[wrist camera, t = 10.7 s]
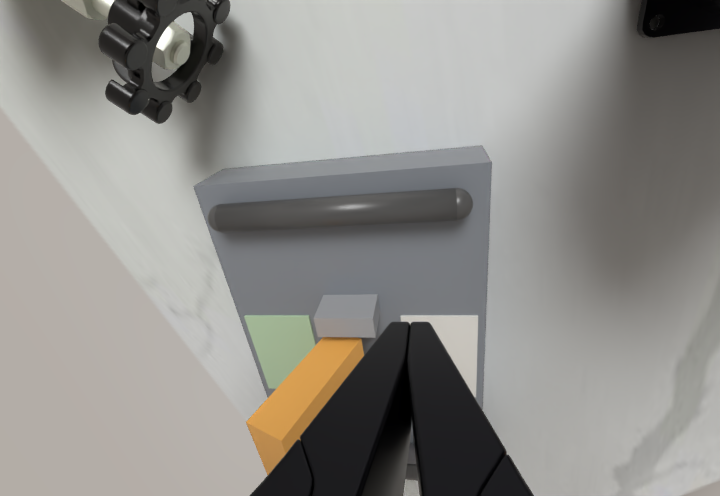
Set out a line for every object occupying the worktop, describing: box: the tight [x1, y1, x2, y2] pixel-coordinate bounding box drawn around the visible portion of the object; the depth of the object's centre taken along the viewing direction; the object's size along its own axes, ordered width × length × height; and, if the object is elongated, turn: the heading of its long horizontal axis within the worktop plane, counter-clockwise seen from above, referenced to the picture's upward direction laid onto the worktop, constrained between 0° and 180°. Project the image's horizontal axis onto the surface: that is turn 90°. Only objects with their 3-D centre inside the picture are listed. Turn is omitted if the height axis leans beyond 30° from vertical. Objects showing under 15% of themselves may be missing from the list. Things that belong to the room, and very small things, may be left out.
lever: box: [246, 337, 364, 475], centre depth 18 cm, size 2×5×6 cm, turn 7°
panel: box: [193, 146, 492, 480], centre depth 22 cm, size 14×22×5 cm, turn 7°
